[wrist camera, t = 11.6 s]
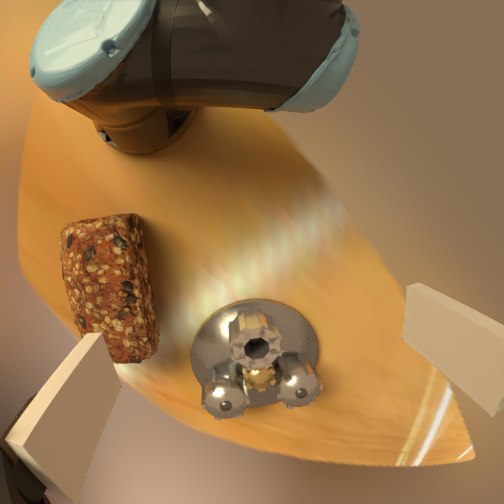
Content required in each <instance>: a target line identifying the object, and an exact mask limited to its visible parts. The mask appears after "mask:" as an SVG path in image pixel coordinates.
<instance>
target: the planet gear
mask: <svg viewBox="0 0 504 504" xmlns="http://www.w3.org/2000/svg"><path fill="white" fill-rule="evenodd" d="M237 314H238V315H237V316H236V317H235V319H234V320H233V321H229V324H228V334H229V346H230V347H231V356H232V360H233V361H234V362H235V363H237V362H239V363H240V364H242V365H244V366H246V370H252V371H253V369H254V368H259V367H266V368H268V367H270V366H272V362H273V361H274V360H275V359H276V358H277V356H281V355H282V352H283V348H282V346H281V344H280V340H281V339H282V337H281V334H280V332H279V330H278V328H277V326H276V323H275V321H274V319H273V317H272V316H271V315H269V316H268V315H266V314H265V313H263V311H262V309H261V308H259V307H255V309H252V310H246V311H244V310H243V309H241V310H239V311H237ZM254 338H260V339H259V340H258V341H257V342H251V341H249V340H250V339H254Z"/></svg>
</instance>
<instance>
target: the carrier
mask: <svg viewBox="0 0 504 504" xmlns="http://www.w3.org/2000/svg"><path fill="white" fill-rule="evenodd" d="M255 307H259V308H261V309H262V311H263V313H265V314H266V315H268V316H269V315H271V316H272V317H273V319H274V321H275V323H276V326H277V328H278V330H279V332H280V334H281V337H282V339H281V340H280V344H281V346H282V348H283V352H282V355H281V356H277V358H276V359H275V360H274V361H273V362H272V366H270V367H268V368H266V367H259V368H254V369H253V371H252V370H246V366H244V365H242V364H240V363H239V362H237V363H235V362H234V361H233V360H232V356H231V347H230V346H229V334H228V324H229V321H233V320H234V319H235V317H236V316H237V315H238V314H237V311H239V310H241V309H243V310H244V311H246V310H252V309H255ZM259 339H260V338H254V339H250V340H249V341H251V342H257V341H258V340H259ZM317 355H318V345H317V339H316V335H315V333H314V331H313V329H312V327H311V326H310V324H309V323H308V321H307V320H306V319H305V318H304V317H303V315H302V314H300V313H299V312H298V311H297V310H295V309H294V308H292V307H290V306H289V305H286V304H284V303H282V302H278V301H275V300H269V299H247V300H242V301H238V302H235V303H232V304H229V305H227V306H225V307H223V308H221V309H219V310H218V311H216V312H215V313H213V314H212V315H211V316H210V317H209V318H208V319H207V320H206V321H205V322H204V323H203V324H202V326H201V327H200V328H199V330H198V332H197V334H196V336H195V338H194V342H193V345H192V352H191V364H192V369H193V372H194V374H195V377H196V378H197V380H198V382H199V383H200V385H201V386H202V401H201V405H202V409H203V410H204V409H206V410H207V411H208V412H209V413H210V414H211V415H213V416H214V419H217V420H221V419H222V418H223V419H229V418H234V417H237V418H240V417H242V416H243V412H244V410H245V409H246V407H255V406H263V405H268V404H272V403H275V402H278V401H280V400H282V402H283V403H284V404H286V406H287V408H289V409H293V408H294V407H300V406H304V405H307V404H308V405H311V404H313V403H314V402H315V401H314V399H315V398H316V397H317V396H318V394H319V392H320V390H323V383H322V381H321V379H320V378H319V376H318V374H317V372H316V370H315V369H314V367H315V364H316V360H317Z"/></svg>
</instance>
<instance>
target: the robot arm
mask: <svg viewBox="0 0 504 504" xmlns="http://www.w3.org/2000/svg"><path fill="white" fill-rule="evenodd" d="M359 33H360V25H359V21H358V17H357V16H356V14H355V12H354V11H353V10H351V9H350V8H349V7H348V6H347V5H345V4H343V3H342V0H63V1H62V2H61V3H60V4H59V5H58V6H57V7H56V8H55V9H54V10H53V11H52V12H51V14H50V15H49V16H48V17H47V19H46V20H45V22H44V23H43V25H42V26H41V28H40V30H39V31H38V33H37V35H36V37H35V40H34V42H33V45H32V48H31V52H30V58H29V70H30V75H31V77H32V79H33V81H34V82H35V84H36V85H37V87H39V88H40V89H41V90H42V91H43V92H45V93H46V94H47V95H48V96H49V98H51V99H52V100H54V101H56V102H59V103H63V104H65V105H67V106H68V107H70V108H72V109H74V110H76V111H77V112H79V113H81V114H83V115H85V116H86V117H88V118H90V119H92V120H93V122H94V125H95V128H96V130H97V132H98V133H99V135H100V136H101V138H102V139H103V140H104V141H105V142H106V143H108V144H109V145H110V146H112V147H114V148H116V149H118V150H120V151H123V152H126V153H131V154H145V153H151V152H154V151H157V150H160V149H162V148H164V147H166V146H168V145H169V144H171V143H172V142H174V141H175V140H176V139H178V138H179V137H180V136H181V135H182V134H183V133H184V132H185V130H186V129H187V128H188V126H189V125H190V123H191V121H192V120H193V117H194V115H195V112H196V109H197V106H209V107H234V108H249V109H261V110H264V111H265V112H277V111H288V112H300V113H307V112H312V111H315V110H316V109H319V108H322V107H324V106H325V105H326V104H328V103H329V102H330V101H331V100H332V99H333V98H334V97H335V96H336V95H337V93H338V92H339V91H340V89H341V88H342V86H343V85H344V83H345V81H346V80H347V78H348V76H349V74H350V72H351V70H352V67H353V65H354V62H355V59H356V56H357V52H358V47H359V41H358V40H357V39H356V38H357V36H358V35H359ZM402 340H403V341H405V342H406V343H407V344H408V345H409V346H411V347H412V348H413V349H414V350H415V351H417V352H418V353H419V354H420V355H421V356H423V357H424V358H425V359H426V360H427V361H429V362H430V363H431V364H432V365H433V366H434V367H436V368H437V369H438V370H439V371H440V372H442V373H443V374H444V375H445V376H446V377H447V378H449V379H450V380H451V381H452V382H453V383H454V384H456V385H457V386H458V387H459V388H460V389H461V390H463V391H464V392H465V393H466V394H467V395H468V396H470V397H471V398H472V399H473V400H474V401H475V402H476V403H478V404H479V405H480V406H481V407H482V408H483V409H484V410H485V411H486V412H488V413H489V414H490V415H491V416H492V417H493V416H495V415H496V414H497V413H498V412H499V411H501V410H502V409H503V408H504V325H502V324H500V323H498V322H497V321H495V320H493V319H491V318H489V317H487V316H485V315H483V314H481V313H479V312H477V311H476V310H473V309H472V308H470V307H468V306H466V305H464V304H462V303H460V302H458V301H456V300H454V299H452V298H450V297H448V296H446V295H443V294H442V293H440V292H437V291H435V290H433V289H431V288H429V287H427V286H425V285H423V284H421V283H416V284H412V285H409V286H407V292H406V306H405V317H404V326H403V335H402ZM121 387H122V385H121V382H120V380H119V378H118V375H117V373H116V370H115V368H114V365H113V362H112V360H111V357H110V354H109V352H108V349H107V346H106V343H105V340H104V337H103V334H102V333H87V334H86V335H85V336H84V337H83V339H82V340H81V341H80V342H79V343H78V344H77V346H76V347H75V348H74V349H73V350H72V351H71V353H70V354H69V355H68V356H67V357H66V359H65V360H64V361H63V362H62V363H61V365H60V366H59V367H58V369H57V370H56V371H55V372H54V373H53V375H52V376H51V377H50V378H49V380H48V381H47V382H46V384H45V385H44V386H43V387H42V389H41V390H40V391H39V392H38V393H37V394H35V395H34V396H33V397H31V398H30V399H29V400H28V401H27V403H26V404H25V405H24V406H23V408H22V409H23V410H20V412H19V413H18V414H17V417H15V419H14V420H13V421H12V423H11V424H10V426H9V427H8V428H7V430H6V431H5V433H4V434H3V435H2V437H1V438H0V504H51V503H50V501H49V499H48V498H47V497H46V495H45V494H44V492H45V490H46V488H47V489H48V490H49V491H50V492H51V493H52V494H53V495H54V496H55V497H56V498H58V499H61V500H64V501H67V502H71V503H74V504H76V502H77V499H78V496H79V493H80V490H81V487H82V485H83V482H84V479H85V476H86V473H87V470H88V468H89V465H90V462H91V459H92V457H93V455H94V452H95V449H96V447H97V444H98V442H99V439H100V437H101V434H102V431H103V429H104V427H105V424H106V422H107V419H108V417H109V415H110V412H111V410H112V408H113V405H114V403H115V401H116V398H117V396H118V394H119V392H120V389H121Z"/></svg>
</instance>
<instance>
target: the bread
mask: <svg viewBox="0 0 504 504" xmlns="http://www.w3.org/2000/svg"><path fill="white" fill-rule="evenodd" d="M142 234H143V232H142V228H141V221H140V216H139V215H137V213H130V214H120V215H112V216H108V217H102V218H96V219H87V220H81V221H77V222H72V223H68V224H65V225H64V227H63V230H62V232H61V242H60V249H61V255H60V257H61V261H62V275H63V279H64V282H65V287H66V292H67V295H68V298H69V302H70V305H71V311H72V313H73V314H72V318H73V321H74V323H75V324H76V325H77V327H78V329H79V331H80V333H81V337H82V339H83V337H84V336H85V335H86V334H87V333H102V334H103V337H104V340H105V343H106V346H107V349H108V352H109V354H110V357H111V360H112V362H113V363H116V364H119V363H122V364H126V363H141V361H142V360H144V359H149V358H150V356H152V355H153V354H154V353H155V352H156V351H157V346H158V342H159V327H158V322H157V318H156V313H155V309H154V301H153V294H152V290H151V282H150V277H149V270H148V264H147V257H146V254H145V245H144V238H143V236H142Z"/></svg>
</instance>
